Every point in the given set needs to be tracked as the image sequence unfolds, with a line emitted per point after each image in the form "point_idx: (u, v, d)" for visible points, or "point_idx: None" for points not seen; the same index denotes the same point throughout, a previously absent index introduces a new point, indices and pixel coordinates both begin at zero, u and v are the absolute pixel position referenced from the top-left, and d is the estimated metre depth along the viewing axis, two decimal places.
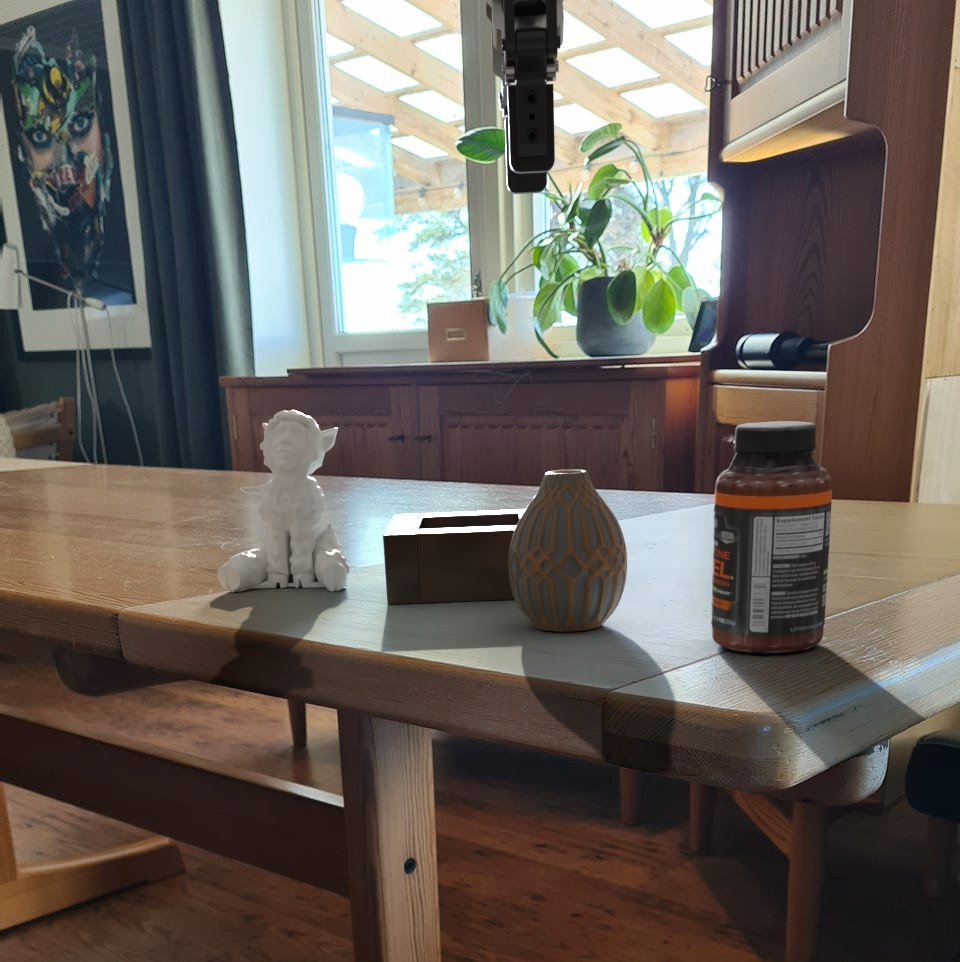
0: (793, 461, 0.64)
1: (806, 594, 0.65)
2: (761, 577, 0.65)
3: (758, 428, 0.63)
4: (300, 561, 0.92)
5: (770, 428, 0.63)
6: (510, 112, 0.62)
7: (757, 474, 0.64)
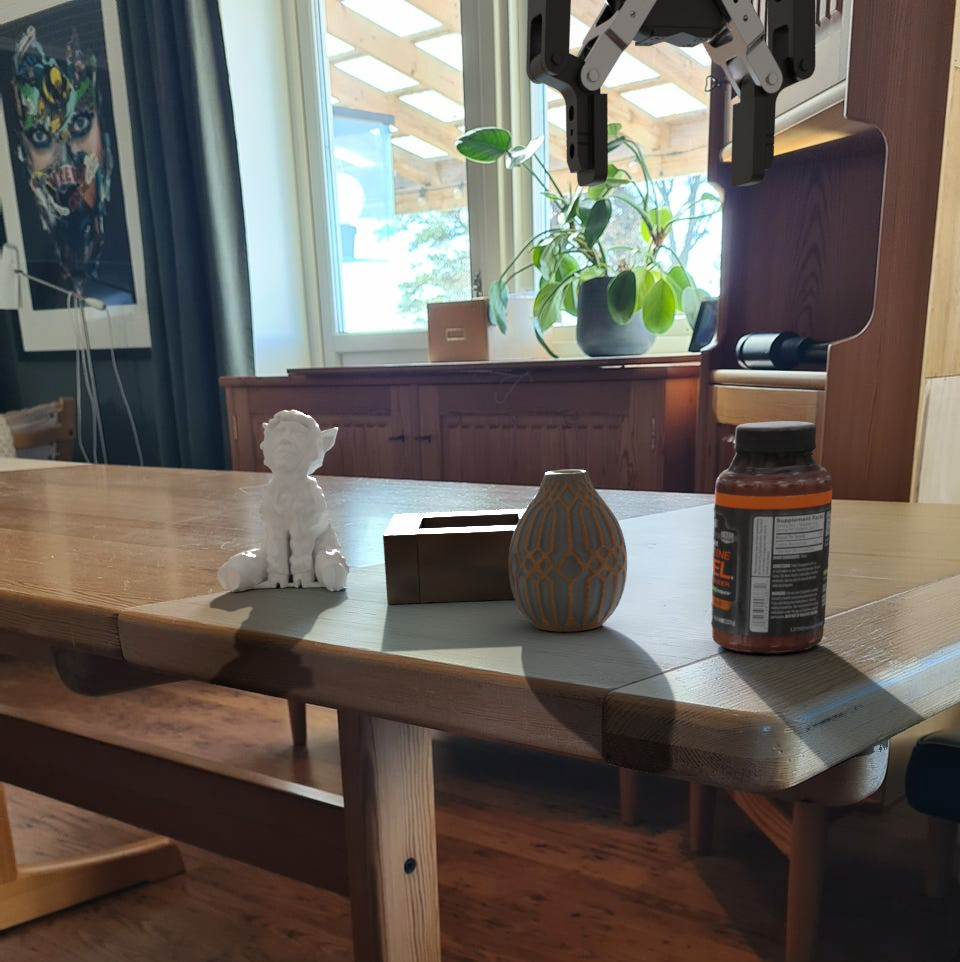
0: (793, 461, 0.64)
1: (806, 594, 0.65)
2: (761, 577, 0.65)
3: (758, 428, 0.63)
4: (300, 561, 0.92)
5: (770, 428, 0.63)
6: None
7: (758, 474, 0.64)
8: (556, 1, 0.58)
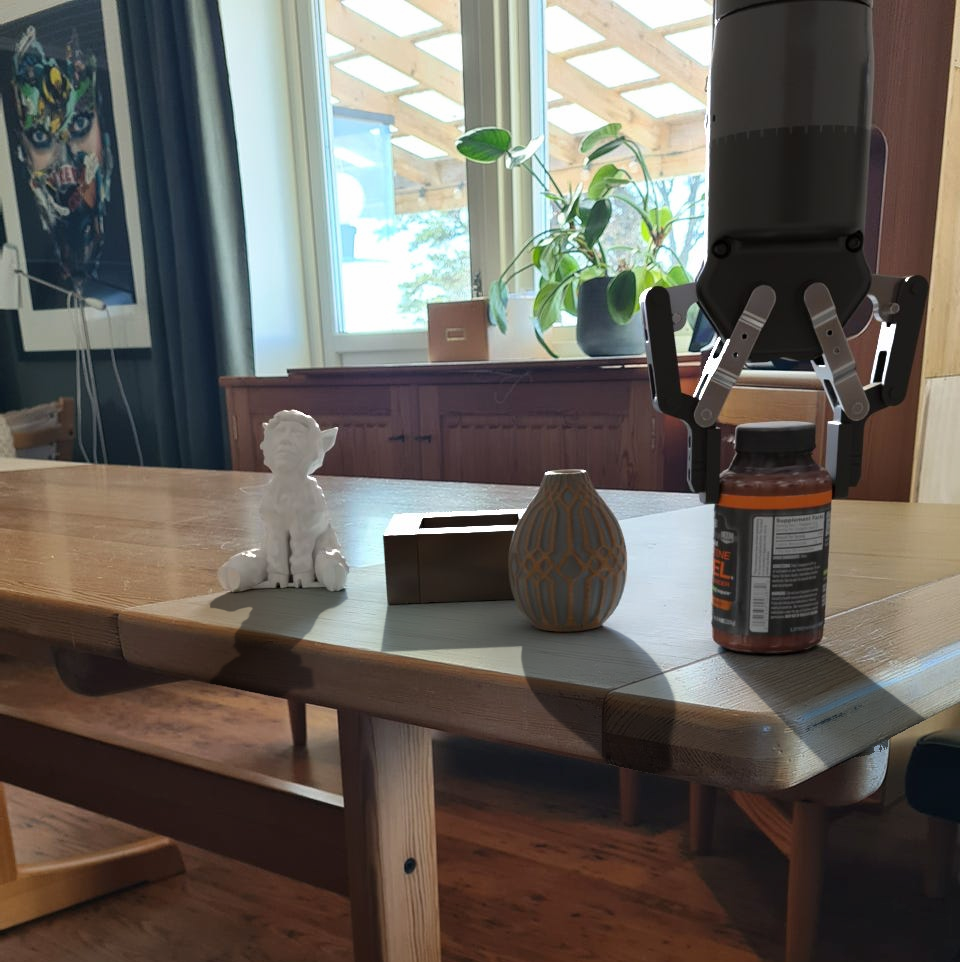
0: (793, 461, 0.64)
1: (806, 594, 0.65)
2: (761, 577, 0.65)
3: (758, 428, 0.63)
4: (300, 561, 0.92)
5: (770, 428, 0.63)
6: None
7: (757, 474, 0.64)
8: (662, 355, 0.63)
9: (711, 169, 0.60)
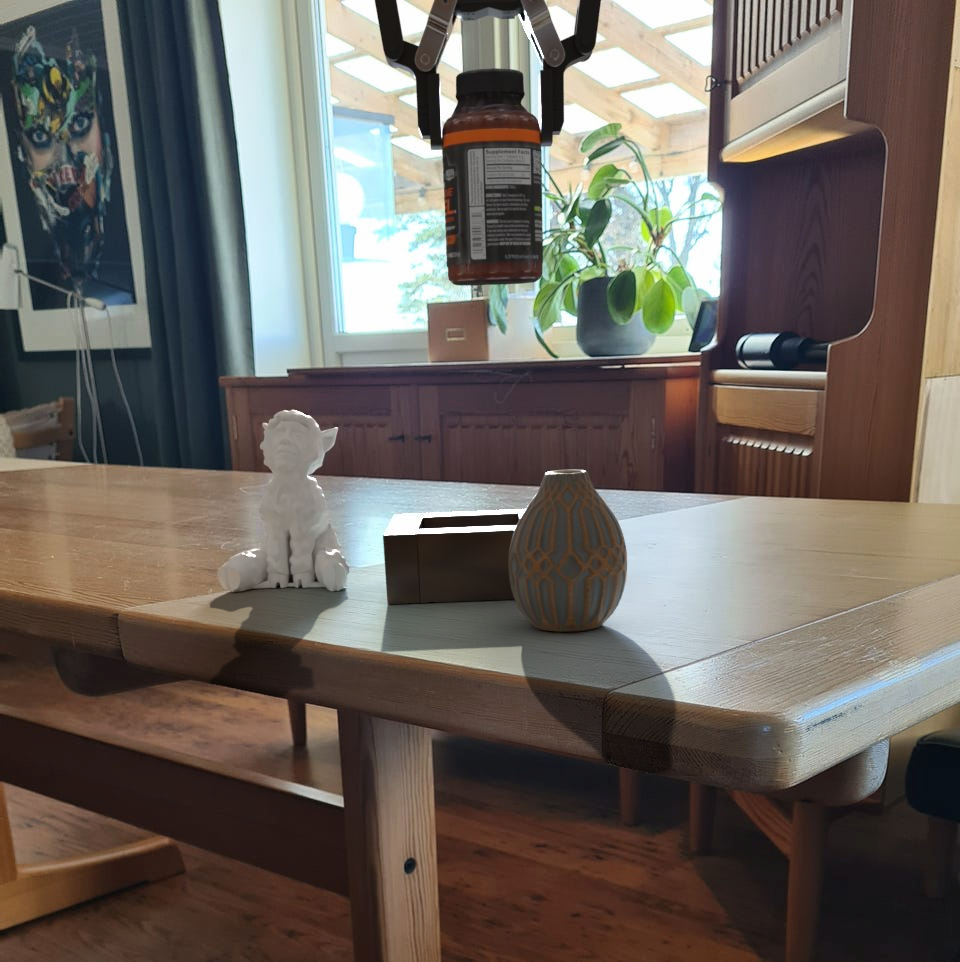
0: (500, 100, 0.74)
1: (518, 224, 0.76)
2: (476, 206, 0.75)
3: (469, 71, 0.74)
4: (300, 561, 0.92)
5: (478, 69, 0.73)
6: None
7: (470, 112, 0.74)
8: (384, 3, 0.73)
9: None
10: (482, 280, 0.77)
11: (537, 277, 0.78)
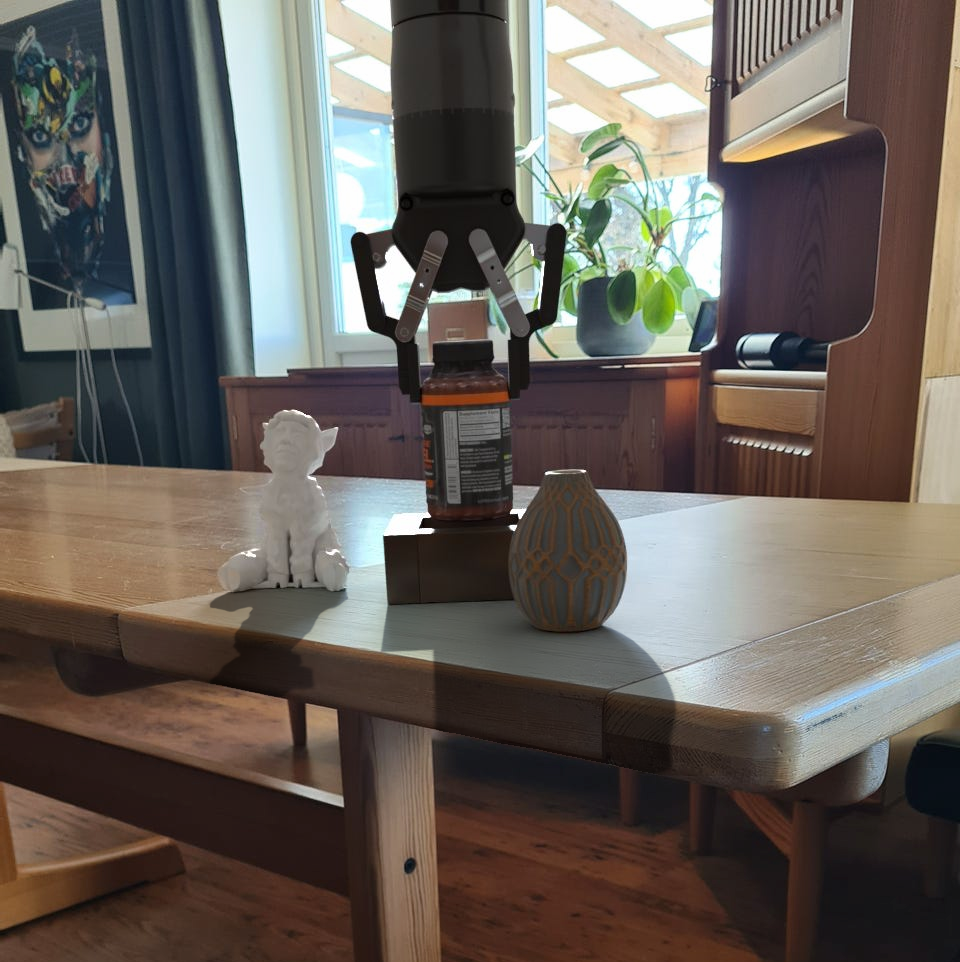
0: (472, 368, 0.82)
1: (489, 473, 0.84)
2: (451, 459, 0.84)
3: (444, 342, 0.82)
4: (300, 561, 0.92)
5: (452, 342, 0.82)
6: None
7: (444, 378, 0.83)
8: (367, 285, 0.82)
9: (394, 142, 0.79)
10: (458, 520, 0.86)
11: (508, 514, 0.87)
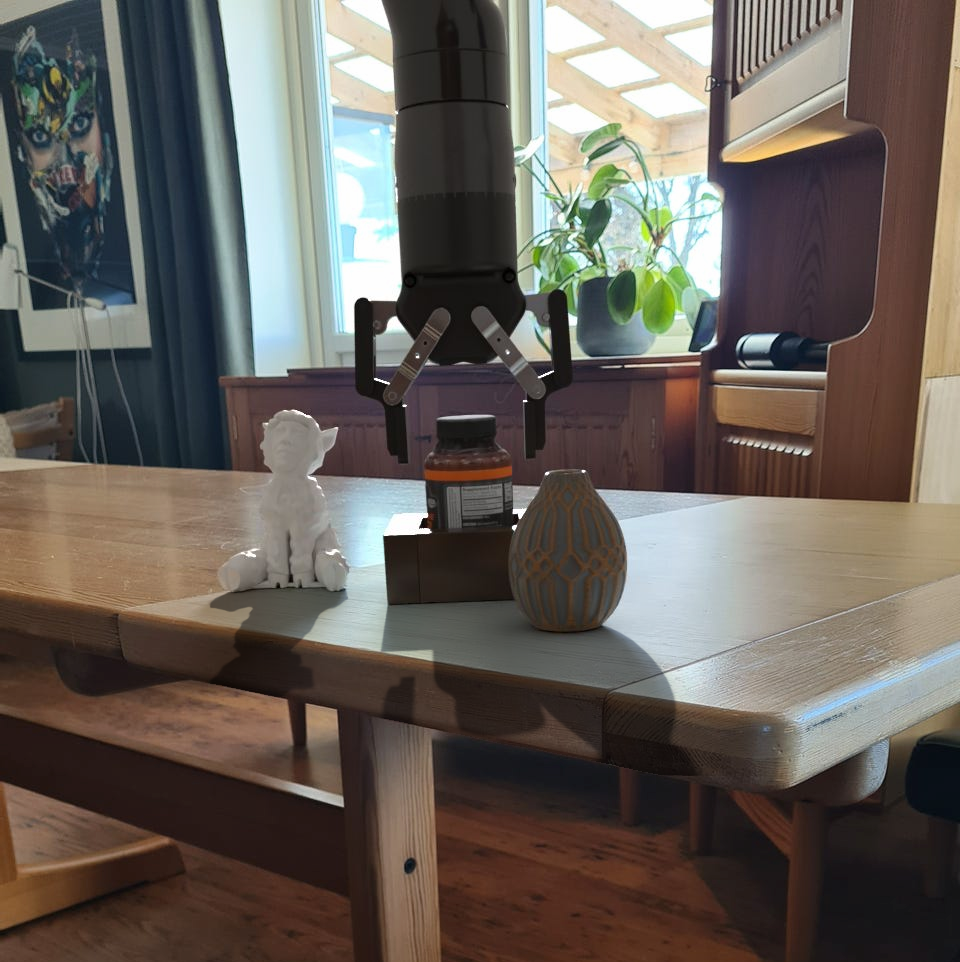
0: (475, 444, 0.84)
1: None
2: None
3: (447, 420, 0.84)
4: (300, 561, 0.92)
5: (455, 420, 0.84)
6: None
7: (448, 454, 0.84)
8: (362, 349, 0.83)
9: (398, 222, 0.81)
10: None
11: None
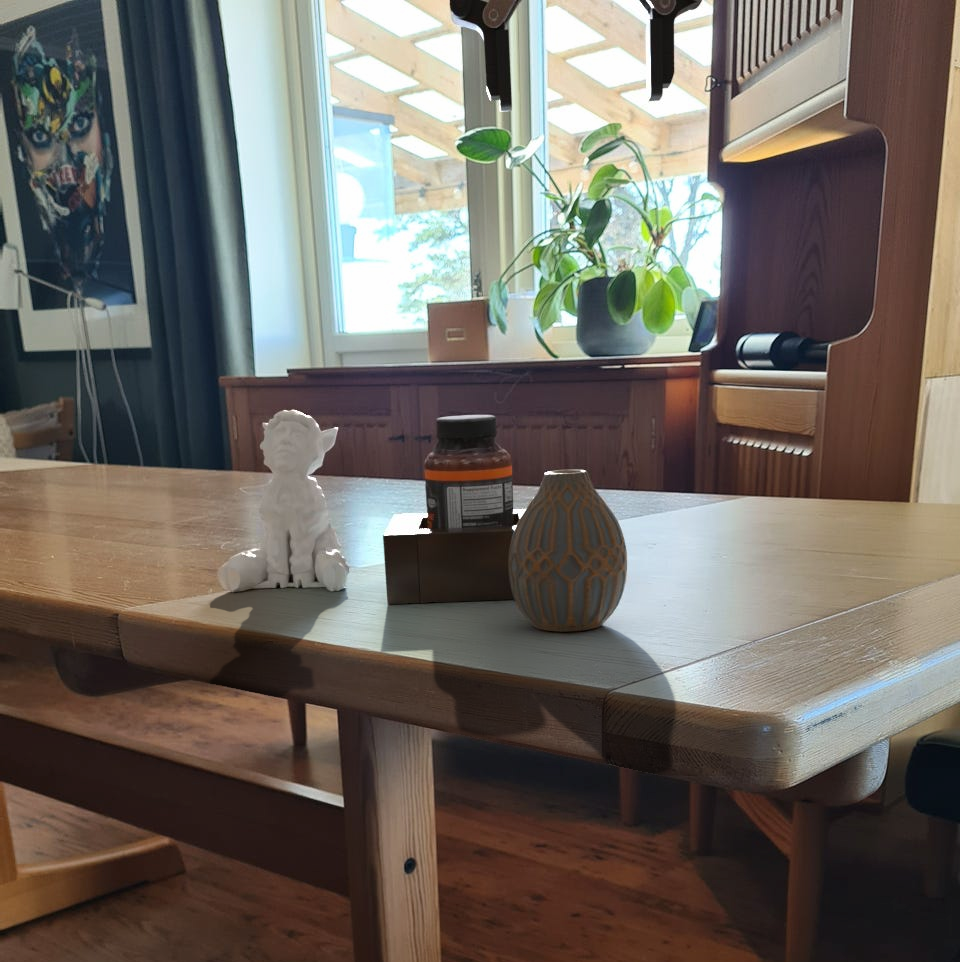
0: (475, 444, 0.84)
1: None
2: None
3: (447, 420, 0.84)
4: (300, 561, 0.92)
5: (456, 420, 0.84)
6: None
7: (448, 454, 0.84)
8: None
9: None
10: None
11: None
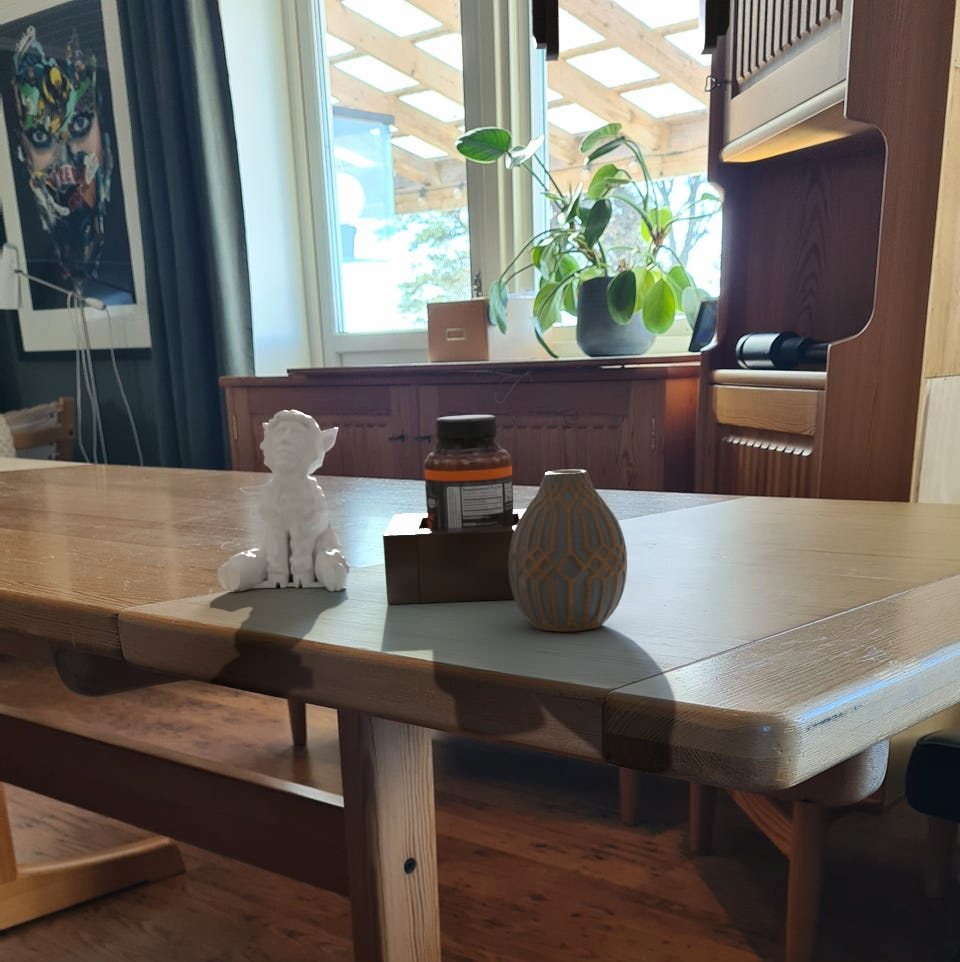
0: (475, 444, 0.84)
1: None
2: None
3: (447, 420, 0.84)
4: (300, 561, 0.92)
5: (455, 420, 0.84)
6: None
7: (448, 454, 0.84)
8: None
9: None
10: None
11: None
